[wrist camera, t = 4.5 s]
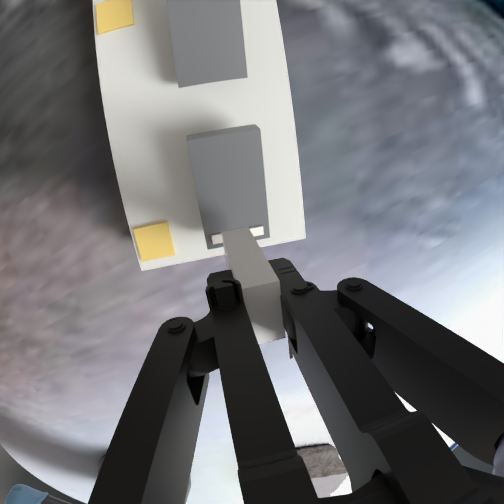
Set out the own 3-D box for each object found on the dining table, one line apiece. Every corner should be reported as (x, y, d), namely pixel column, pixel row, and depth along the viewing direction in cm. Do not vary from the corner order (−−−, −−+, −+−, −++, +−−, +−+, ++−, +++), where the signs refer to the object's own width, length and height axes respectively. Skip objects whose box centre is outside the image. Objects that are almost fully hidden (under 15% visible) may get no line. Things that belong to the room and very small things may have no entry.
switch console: (146, 245, 26) (136, 278, 21) (104, -63, 14) (88, -95, 9) (286, 218, 28) (310, 243, 22) (240, -85, 15) (252, -120, 10)
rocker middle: (178, 85, 17) (178, 88, 16) (164, -18, 13) (163, -23, 12) (243, 75, 18) (248, 78, 16) (232, -26, 13) (237, -31, 12)
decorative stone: (331, 430, 43) (271, 454, 42) (348, 463, 37) (283, 489, 36) (339, 463, 49) (290, 482, 49) (352, 490, 43) (301, 510, 42)
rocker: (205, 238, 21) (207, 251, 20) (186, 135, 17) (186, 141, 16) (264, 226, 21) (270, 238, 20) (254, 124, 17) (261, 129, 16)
